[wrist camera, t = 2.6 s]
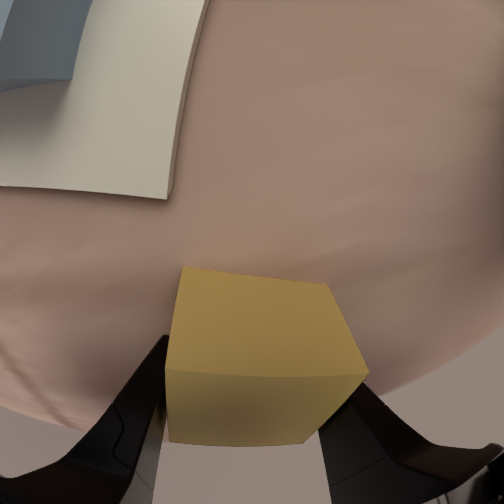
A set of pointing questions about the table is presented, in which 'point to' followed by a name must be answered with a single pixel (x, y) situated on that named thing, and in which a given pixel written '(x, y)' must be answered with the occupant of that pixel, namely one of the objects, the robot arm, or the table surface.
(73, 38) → the base brick
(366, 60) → the table surface
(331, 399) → the brick ochre
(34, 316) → the table surface
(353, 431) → the robot arm
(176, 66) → the build plate
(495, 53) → the table surface
